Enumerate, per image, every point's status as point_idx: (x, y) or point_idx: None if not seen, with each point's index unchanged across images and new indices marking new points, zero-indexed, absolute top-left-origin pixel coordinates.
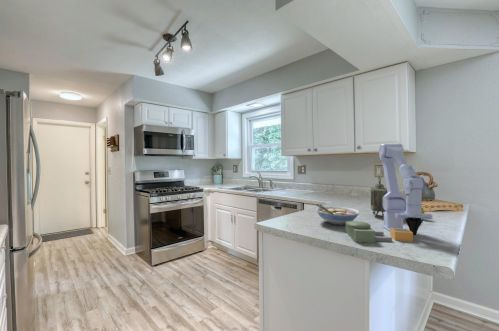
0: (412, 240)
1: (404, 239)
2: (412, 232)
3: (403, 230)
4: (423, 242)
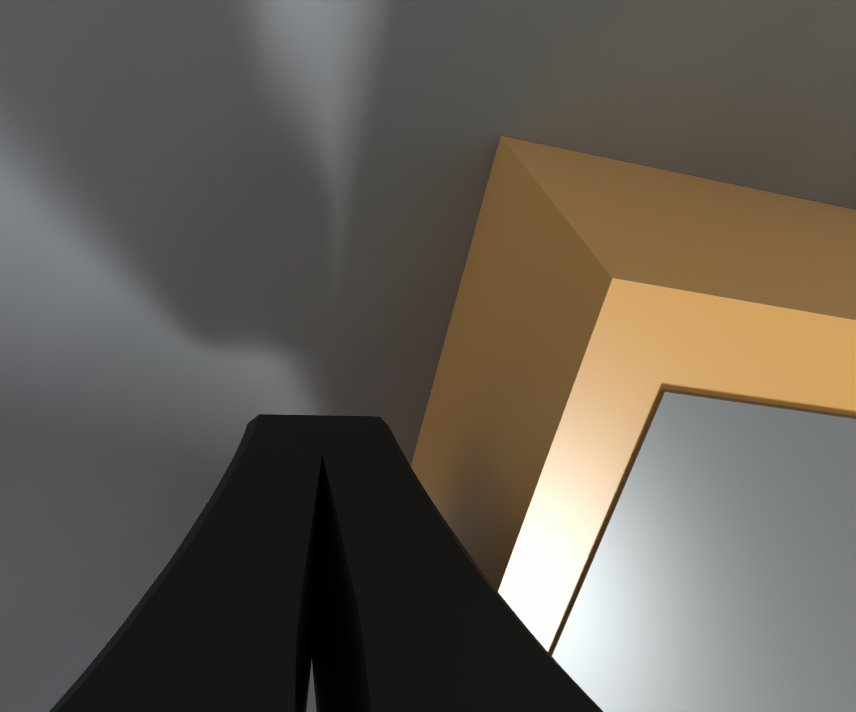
0: (527, 145)
1: (783, 210)
2: (616, 311)
3: (801, 586)
4: (137, 15)
